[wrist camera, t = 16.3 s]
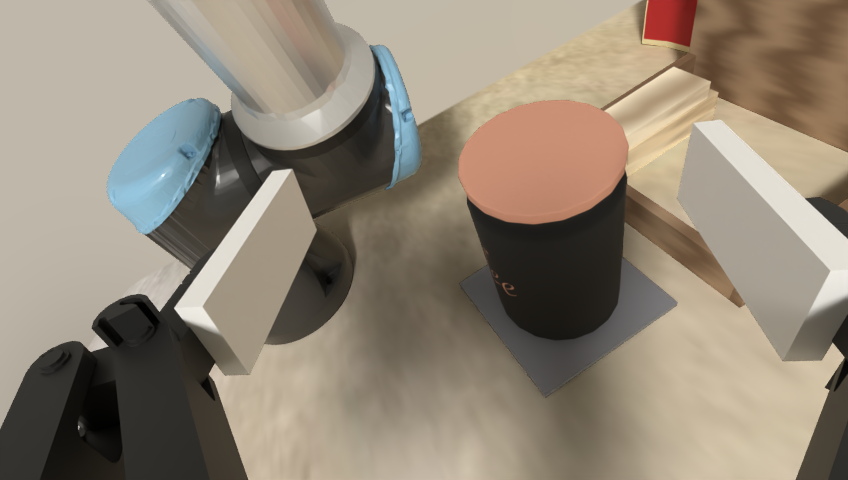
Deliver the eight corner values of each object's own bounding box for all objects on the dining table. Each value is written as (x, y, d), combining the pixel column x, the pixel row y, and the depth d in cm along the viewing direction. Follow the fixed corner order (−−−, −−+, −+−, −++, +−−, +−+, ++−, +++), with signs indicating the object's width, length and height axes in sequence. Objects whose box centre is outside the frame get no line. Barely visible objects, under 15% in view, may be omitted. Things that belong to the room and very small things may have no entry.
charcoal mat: (460, 286, 46) (459, 283, 46) (568, 215, 47) (567, 211, 47) (545, 397, 37) (544, 395, 36) (676, 305, 38) (677, 302, 38)
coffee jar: (507, 248, 46) (469, 109, 33) (617, 247, 43) (624, 89, 29) (495, 342, 40) (443, 219, 27) (622, 351, 37) (635, 212, 23)
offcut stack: (588, 161, 51) (587, 120, 47) (675, 104, 53) (681, 59, 48) (620, 182, 48) (622, 141, 44) (712, 122, 49) (723, 75, 45)
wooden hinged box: (552, 166, 52) (538, 41, 40) (690, 78, 54) (715, -67, 42) (739, 307, 36) (807, 170, 24) (925, 175, 38) (1072, -12, 26)
